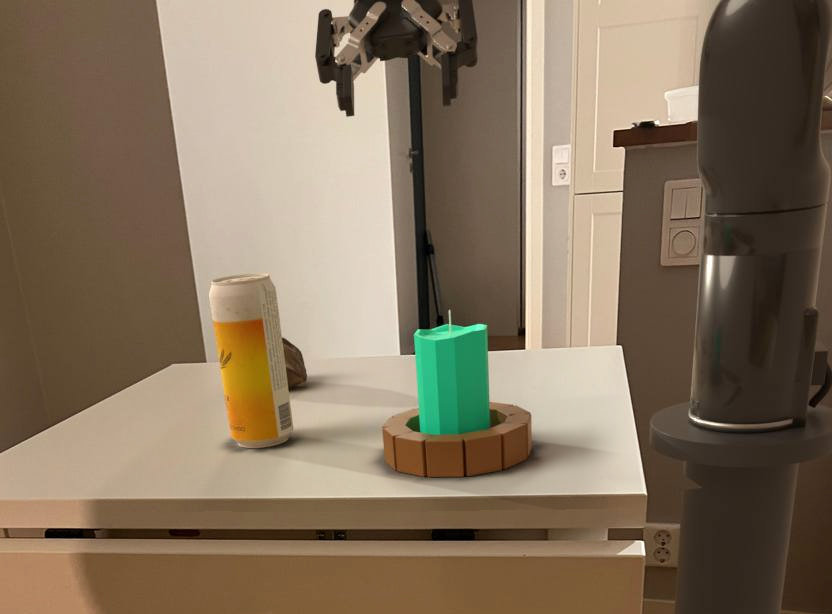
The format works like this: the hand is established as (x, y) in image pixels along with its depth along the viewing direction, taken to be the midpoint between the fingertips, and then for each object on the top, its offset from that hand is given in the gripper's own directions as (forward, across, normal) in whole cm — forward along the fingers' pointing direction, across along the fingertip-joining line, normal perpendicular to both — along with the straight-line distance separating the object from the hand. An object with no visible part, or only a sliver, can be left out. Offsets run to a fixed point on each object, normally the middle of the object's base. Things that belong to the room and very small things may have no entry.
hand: (397, 103), depth 83 cm
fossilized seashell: (+6, -18, +33) cm, 38 cm away
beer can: (+23, -15, +16) cm, 32 cm away
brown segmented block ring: (+29, +4, +9) cm, 31 cm away
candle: (+29, +4, +10) cm, 31 cm away
